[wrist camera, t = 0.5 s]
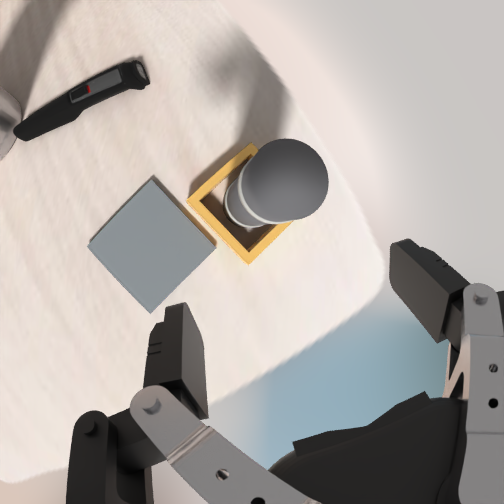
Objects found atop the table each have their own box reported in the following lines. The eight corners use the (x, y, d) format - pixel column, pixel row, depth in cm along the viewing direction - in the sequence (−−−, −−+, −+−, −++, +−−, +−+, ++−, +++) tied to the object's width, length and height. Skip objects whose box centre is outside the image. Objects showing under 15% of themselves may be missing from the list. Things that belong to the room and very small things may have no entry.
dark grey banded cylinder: (211, 203, 29) (228, 174, 16) (246, 171, 30) (290, 121, 16) (245, 238, 30) (289, 240, 16) (279, 205, 31) (345, 183, 17)
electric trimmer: (22, 125, 25) (9, 116, 22) (142, 63, 27) (138, 48, 24) (27, 152, 26) (14, 145, 22) (151, 88, 28) (147, 74, 25)
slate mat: (88, 246, 27) (86, 246, 27) (152, 180, 28) (151, 179, 28) (151, 312, 29) (150, 313, 28) (216, 247, 30) (216, 247, 29)
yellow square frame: (186, 202, 29) (186, 200, 27) (247, 147, 30) (251, 142, 28) (244, 263, 30) (248, 265, 28) (301, 206, 31) (309, 205, 29)
